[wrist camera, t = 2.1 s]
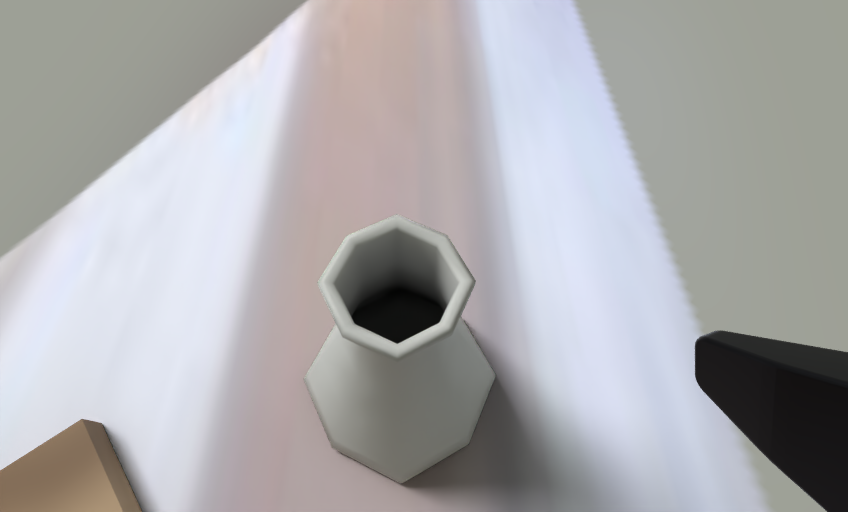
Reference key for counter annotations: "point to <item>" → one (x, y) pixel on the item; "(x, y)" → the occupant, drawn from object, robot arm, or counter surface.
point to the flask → (398, 350)
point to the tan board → (68, 475)
